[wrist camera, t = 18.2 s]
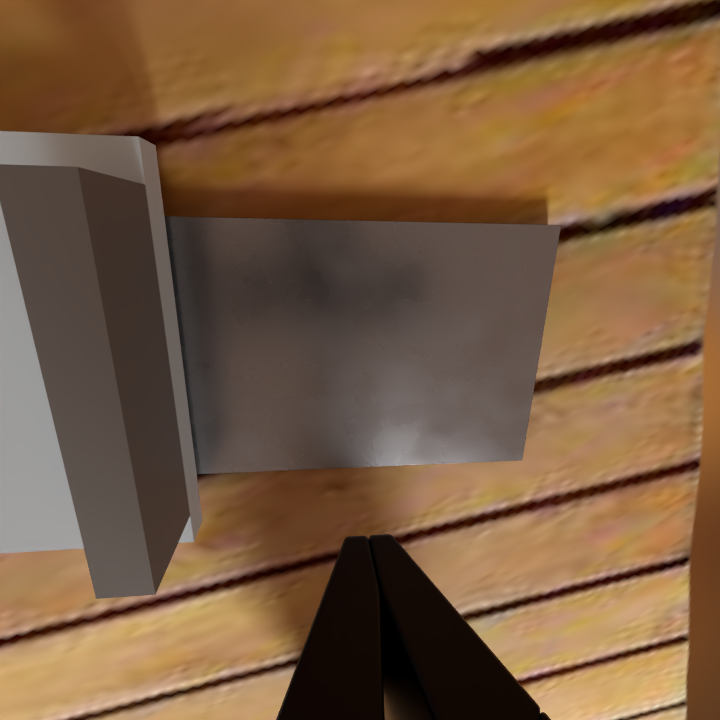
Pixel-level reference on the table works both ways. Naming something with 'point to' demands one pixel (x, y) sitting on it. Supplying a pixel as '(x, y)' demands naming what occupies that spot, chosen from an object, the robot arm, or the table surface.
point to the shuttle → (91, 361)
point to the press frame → (358, 339)
